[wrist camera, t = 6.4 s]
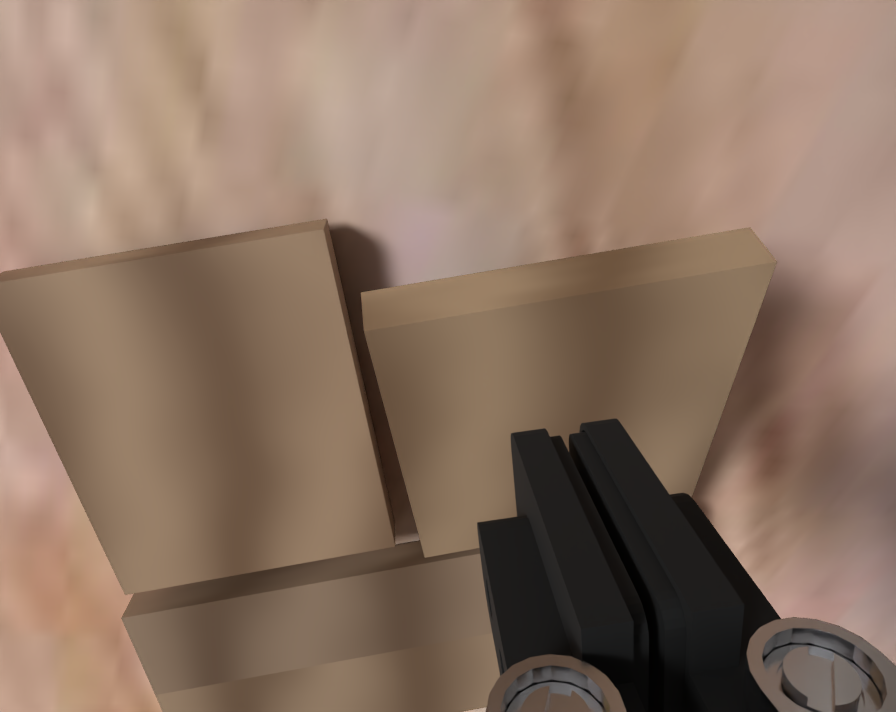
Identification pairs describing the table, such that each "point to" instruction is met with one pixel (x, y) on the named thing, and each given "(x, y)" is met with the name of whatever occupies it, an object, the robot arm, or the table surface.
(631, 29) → the table surface
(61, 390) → the plank
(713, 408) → the plank
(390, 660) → the floor strip
